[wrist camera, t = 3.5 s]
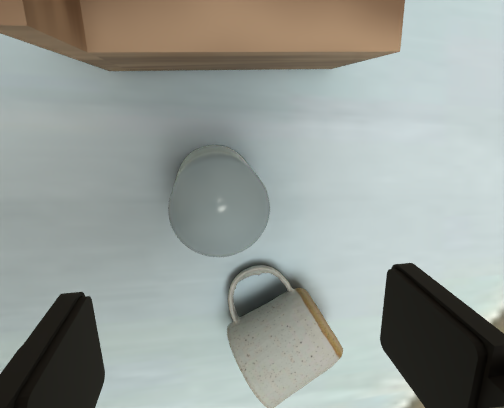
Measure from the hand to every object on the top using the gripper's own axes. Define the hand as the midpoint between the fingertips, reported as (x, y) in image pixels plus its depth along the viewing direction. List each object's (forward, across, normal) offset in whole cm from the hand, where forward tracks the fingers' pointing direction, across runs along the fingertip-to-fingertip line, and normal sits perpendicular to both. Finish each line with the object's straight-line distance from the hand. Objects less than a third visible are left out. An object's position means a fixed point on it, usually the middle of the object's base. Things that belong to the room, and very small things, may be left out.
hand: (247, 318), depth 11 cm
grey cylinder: (+20, 0, 0) cm, 20 cm away
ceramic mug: (+20, -4, +13) cm, 24 cm away
